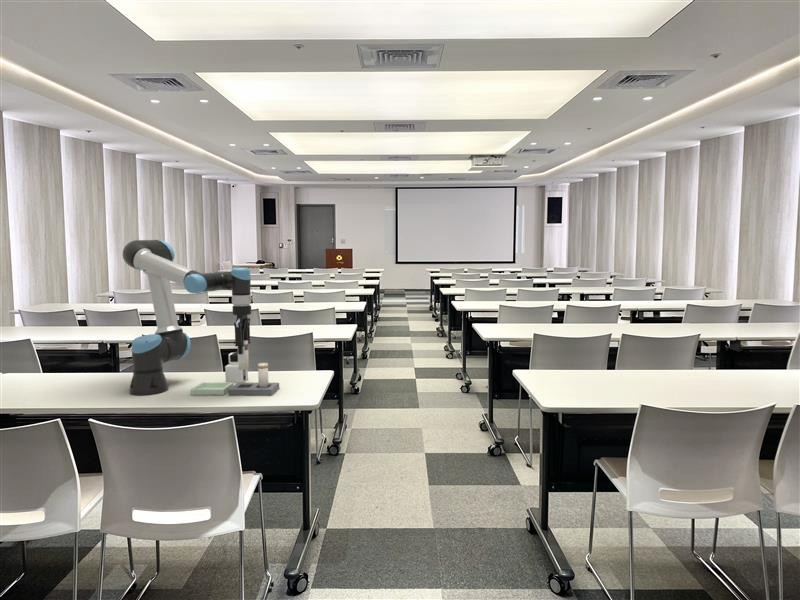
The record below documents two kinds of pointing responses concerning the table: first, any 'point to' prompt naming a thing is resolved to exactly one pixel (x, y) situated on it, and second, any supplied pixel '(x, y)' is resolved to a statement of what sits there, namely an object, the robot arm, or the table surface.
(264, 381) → the cylinder
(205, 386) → the parts tray
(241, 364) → the fuse
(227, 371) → the container
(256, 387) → the fuse block
